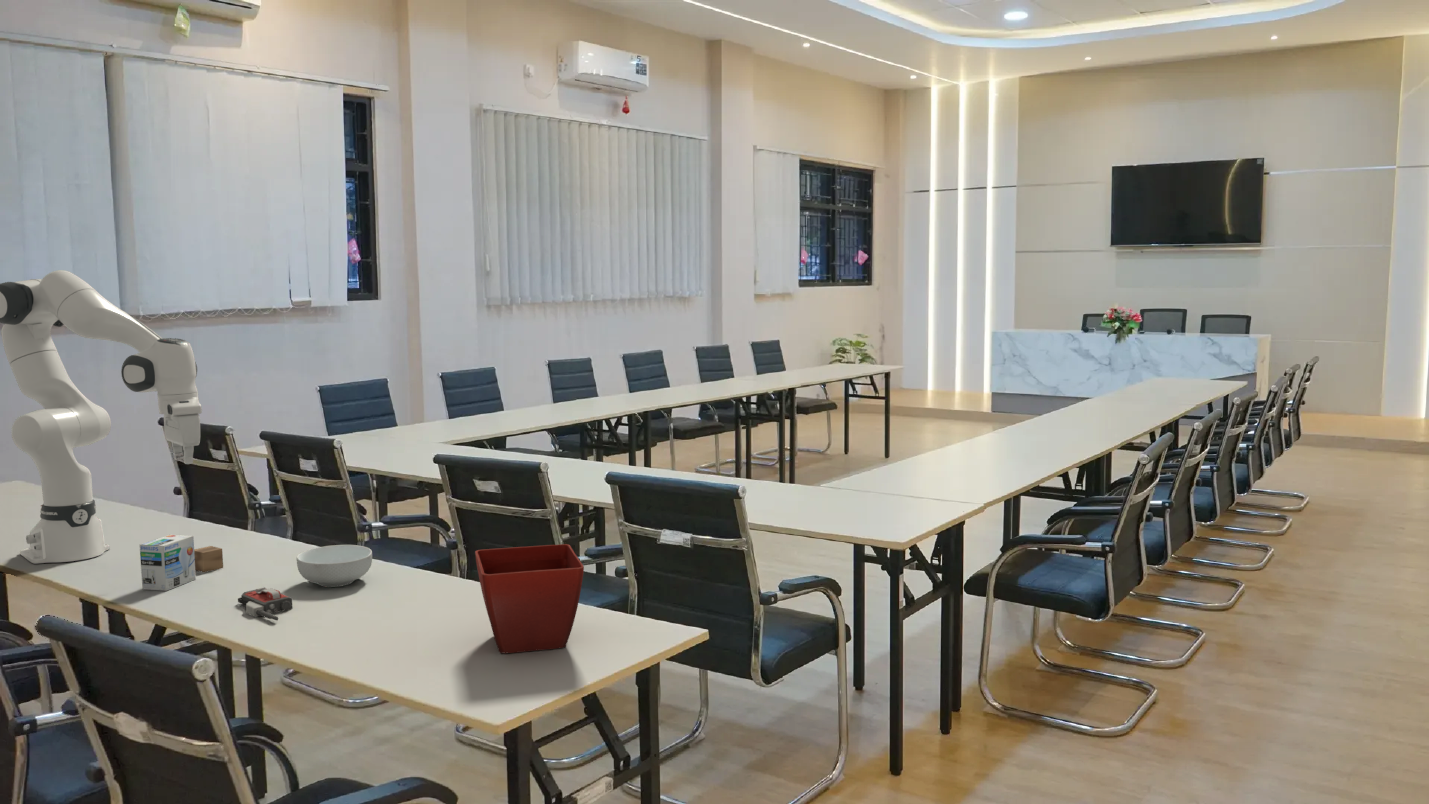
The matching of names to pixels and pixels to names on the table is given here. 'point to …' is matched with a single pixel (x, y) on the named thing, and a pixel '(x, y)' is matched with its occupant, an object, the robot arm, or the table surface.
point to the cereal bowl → (334, 564)
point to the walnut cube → (208, 558)
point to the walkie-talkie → (265, 602)
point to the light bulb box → (167, 562)
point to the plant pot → (530, 595)
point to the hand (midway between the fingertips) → (183, 461)
